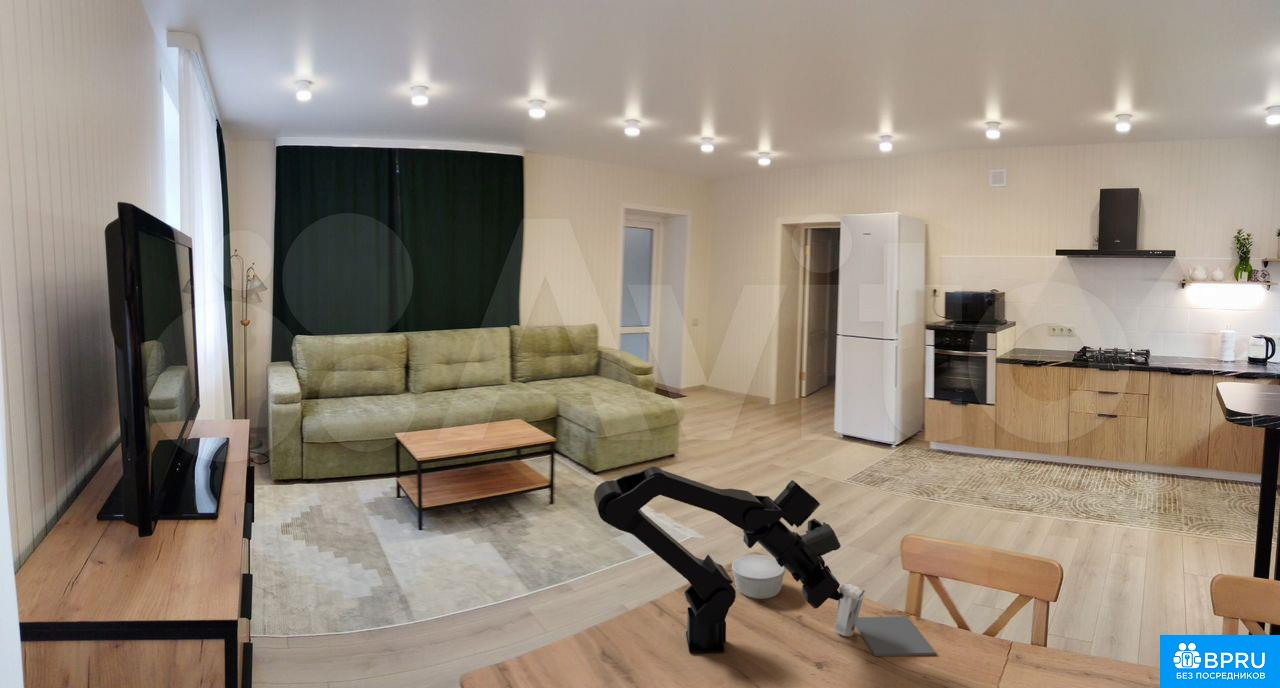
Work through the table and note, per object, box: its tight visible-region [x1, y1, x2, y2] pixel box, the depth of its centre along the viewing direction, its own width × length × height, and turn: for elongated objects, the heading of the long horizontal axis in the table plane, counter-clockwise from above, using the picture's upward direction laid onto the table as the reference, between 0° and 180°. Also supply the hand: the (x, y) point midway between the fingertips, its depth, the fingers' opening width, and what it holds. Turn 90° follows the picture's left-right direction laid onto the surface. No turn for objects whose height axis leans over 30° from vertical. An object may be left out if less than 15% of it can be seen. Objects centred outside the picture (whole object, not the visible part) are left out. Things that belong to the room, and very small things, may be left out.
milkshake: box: [835, 583, 866, 638], centre depth 124 cm, size 5×5×10 cm
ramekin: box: [731, 554, 786, 600], centre depth 142 cm, size 11×11×5 cm
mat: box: [855, 616, 936, 657], centre depth 124 cm, size 11×12×1 cm
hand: (839, 597), depth 124 cm, fingers closed
